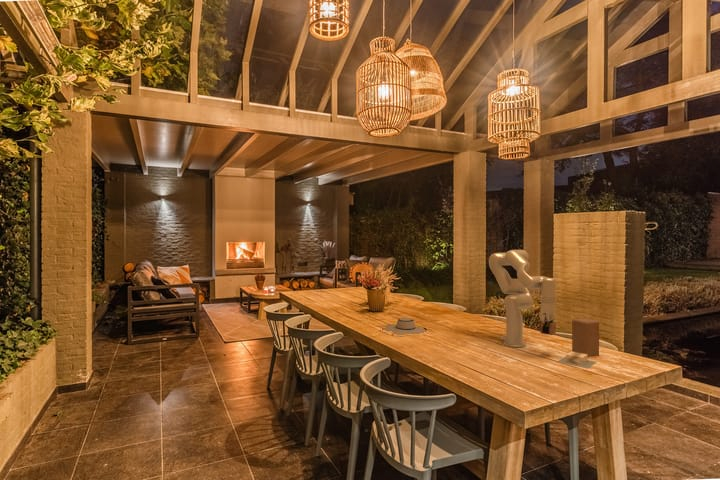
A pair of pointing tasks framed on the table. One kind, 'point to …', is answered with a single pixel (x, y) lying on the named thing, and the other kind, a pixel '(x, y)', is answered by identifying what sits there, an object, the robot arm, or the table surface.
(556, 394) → the table surface
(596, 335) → the wooden block
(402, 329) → the sun hat
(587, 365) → the grey flat square
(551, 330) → the walnut cube
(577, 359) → the birch base brick
